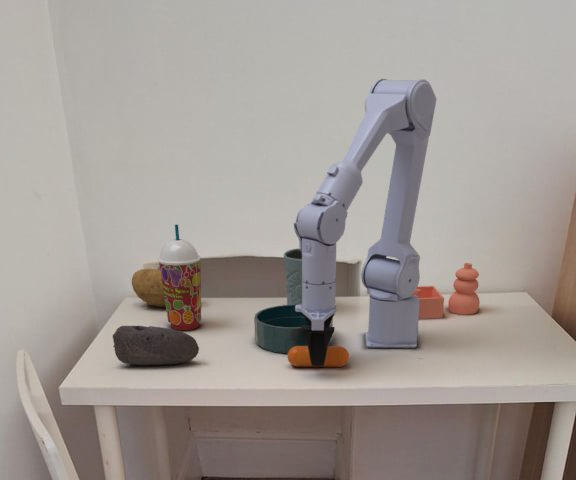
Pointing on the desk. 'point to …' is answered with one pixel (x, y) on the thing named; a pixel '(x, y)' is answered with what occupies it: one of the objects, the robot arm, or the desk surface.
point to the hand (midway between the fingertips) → (318, 357)
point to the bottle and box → (459, 301)
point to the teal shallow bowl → (280, 328)
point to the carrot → (334, 358)
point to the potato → (149, 286)
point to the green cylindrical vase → (293, 276)
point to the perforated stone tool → (153, 345)
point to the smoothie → (181, 283)
